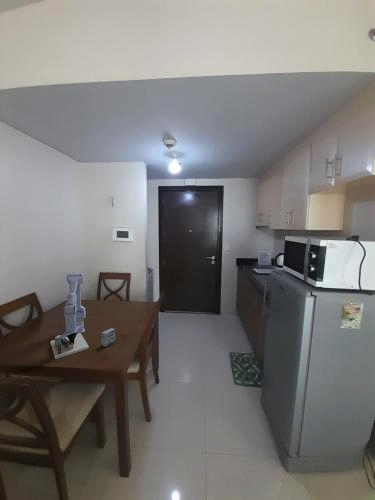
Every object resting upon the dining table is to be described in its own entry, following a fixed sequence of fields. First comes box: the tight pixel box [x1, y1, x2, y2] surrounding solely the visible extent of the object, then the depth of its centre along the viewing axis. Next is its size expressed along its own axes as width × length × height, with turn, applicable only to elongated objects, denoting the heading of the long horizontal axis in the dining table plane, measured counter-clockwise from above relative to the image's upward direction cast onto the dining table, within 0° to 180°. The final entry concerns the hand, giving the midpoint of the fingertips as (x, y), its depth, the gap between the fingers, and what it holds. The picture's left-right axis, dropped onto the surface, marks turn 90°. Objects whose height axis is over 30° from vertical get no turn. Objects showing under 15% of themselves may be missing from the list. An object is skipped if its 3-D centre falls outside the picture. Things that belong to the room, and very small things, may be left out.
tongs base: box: [53, 338, 62, 354], centre depth 133 cm, size 17×5×3 cm, turn 38°
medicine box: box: [100, 327, 117, 347], centre depth 140 cm, size 8×4×9 cm, turn 151°
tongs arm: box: [54, 334, 73, 350], centre depth 134 cm, size 16×4×4 cm, turn 53°
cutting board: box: [50, 333, 90, 360], centre depth 137 cm, size 22×18×2 cm
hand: (71, 344), depth 134 cm, fingers closed, pressing on tongs arm
